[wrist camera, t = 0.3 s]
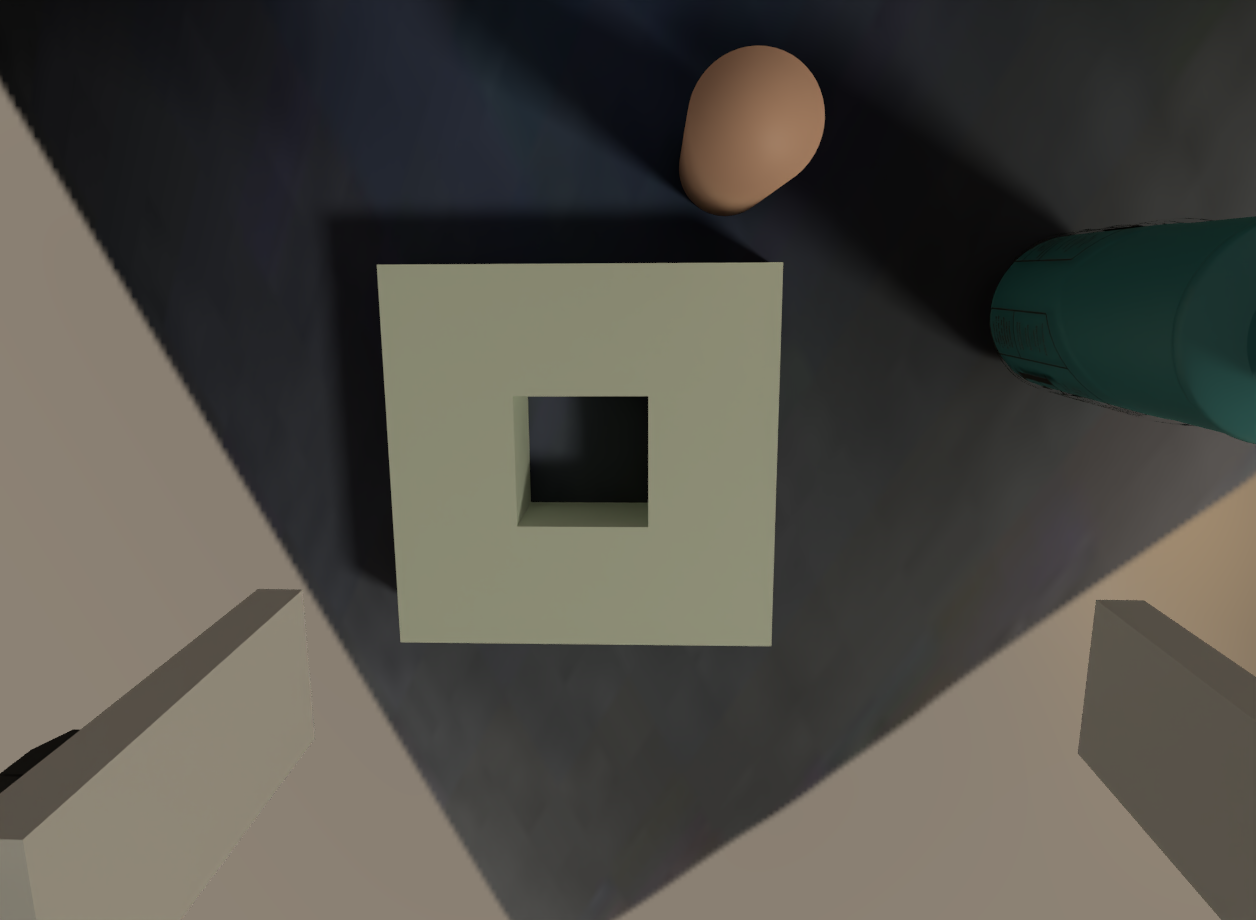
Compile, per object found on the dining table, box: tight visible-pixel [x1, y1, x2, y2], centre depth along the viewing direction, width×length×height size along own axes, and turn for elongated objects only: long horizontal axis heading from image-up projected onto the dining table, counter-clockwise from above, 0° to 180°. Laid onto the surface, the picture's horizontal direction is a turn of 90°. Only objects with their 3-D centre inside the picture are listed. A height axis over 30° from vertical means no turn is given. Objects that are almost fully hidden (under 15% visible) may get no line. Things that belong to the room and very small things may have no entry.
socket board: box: [377, 262, 783, 646], centre depth 38 cm, size 16×16×4 cm
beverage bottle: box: [990, 216, 1256, 444], centre depth 28 cm, size 6×7×20 cm
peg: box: [679, 45, 825, 216], centre depth 31 cm, size 4×4×12 cm
